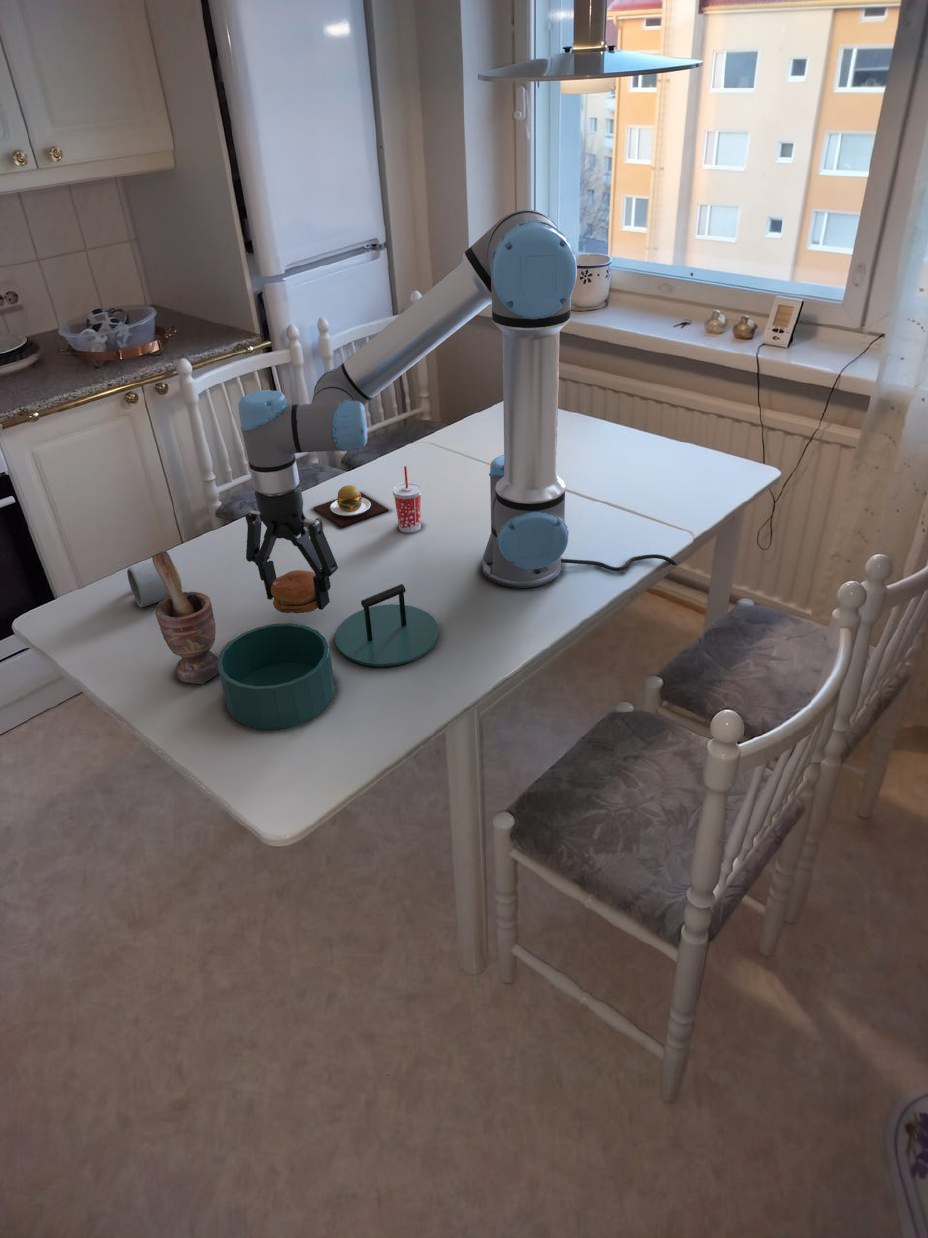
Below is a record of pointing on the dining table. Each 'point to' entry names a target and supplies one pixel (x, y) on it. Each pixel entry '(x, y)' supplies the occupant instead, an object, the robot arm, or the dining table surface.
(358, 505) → the hamburger
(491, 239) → the robot arm
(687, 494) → the dining table surface
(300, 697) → the pot
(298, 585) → the burger
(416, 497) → the beverage cup
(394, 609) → the lid
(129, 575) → the ceramic mug
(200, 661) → the mortar and pestle
